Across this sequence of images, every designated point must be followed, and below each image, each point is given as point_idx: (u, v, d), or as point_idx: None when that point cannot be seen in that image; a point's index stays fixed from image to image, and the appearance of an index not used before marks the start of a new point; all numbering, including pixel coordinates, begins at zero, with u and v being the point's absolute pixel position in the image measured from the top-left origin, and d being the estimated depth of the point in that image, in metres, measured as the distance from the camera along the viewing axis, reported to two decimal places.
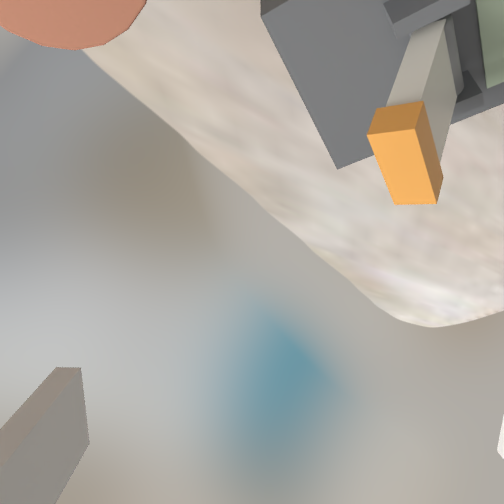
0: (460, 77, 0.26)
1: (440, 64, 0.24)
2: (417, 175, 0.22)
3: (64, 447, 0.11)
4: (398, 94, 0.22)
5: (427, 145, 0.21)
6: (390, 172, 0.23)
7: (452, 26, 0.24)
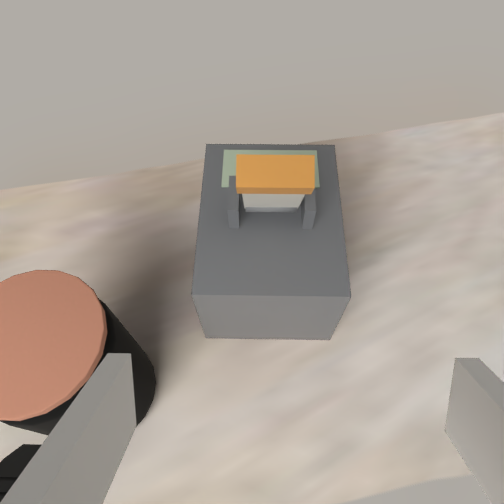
0: None
1: None
2: (280, 162, 0.29)
3: (119, 426, 0.12)
4: None
5: None
6: (275, 180, 0.29)
7: None
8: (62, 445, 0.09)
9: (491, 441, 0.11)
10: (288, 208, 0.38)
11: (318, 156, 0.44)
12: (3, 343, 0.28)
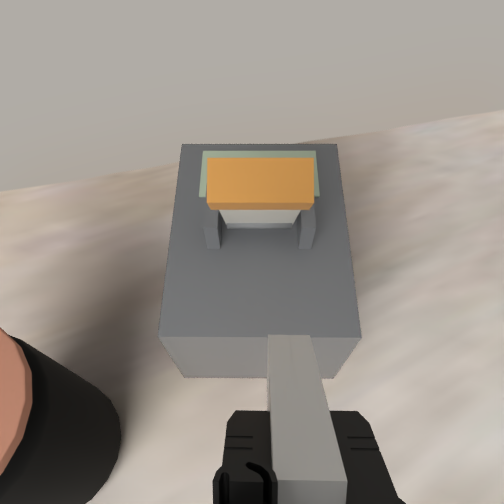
0: None
1: None
2: (267, 167, 0.22)
3: None
4: None
5: None
6: (260, 193, 0.22)
7: None
8: (289, 408, 0.11)
9: None
10: (281, 224, 0.30)
11: (317, 157, 0.36)
12: None
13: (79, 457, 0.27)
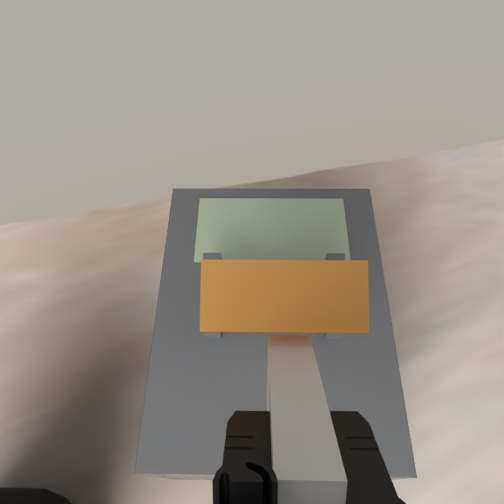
0: None
1: None
2: (296, 276, 0.14)
3: None
4: None
5: None
6: (284, 317, 0.14)
7: None
8: (289, 408, 0.11)
9: None
10: None
11: (345, 207, 0.29)
12: None
13: None
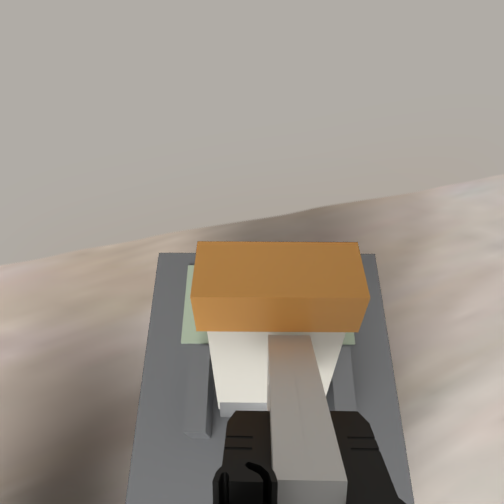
0: None
1: None
2: (289, 253, 0.14)
3: None
4: None
5: None
6: (279, 284, 0.13)
7: None
8: (289, 408, 0.11)
9: None
10: None
11: None
12: None
13: None
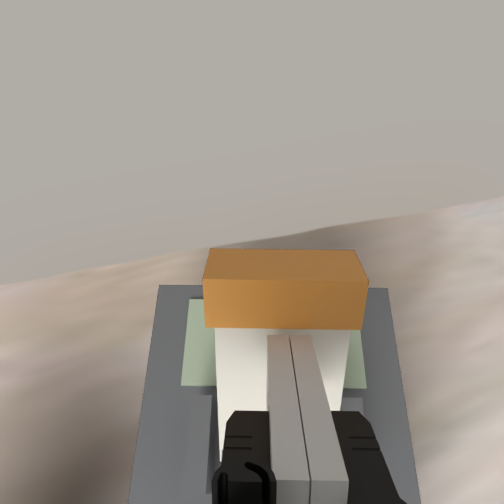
0: None
1: None
2: (293, 255, 0.16)
3: None
4: None
5: None
6: (285, 273, 0.14)
7: None
8: (288, 408, 0.11)
9: None
10: None
11: None
12: None
13: None
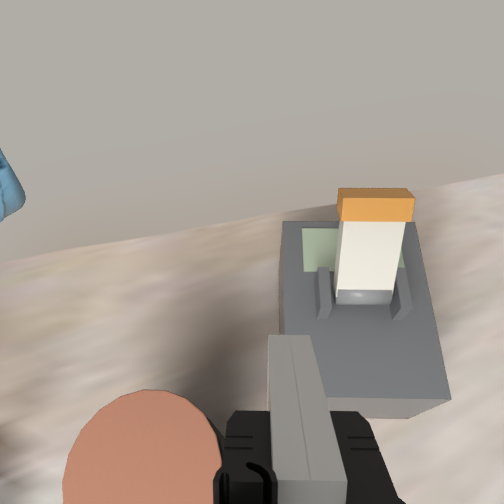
0: None
1: None
2: (378, 190, 0.34)
3: None
4: (341, 231, 0.35)
5: None
6: (377, 195, 0.33)
7: None
8: (289, 408, 0.11)
9: None
10: (382, 291, 0.37)
11: None
12: (120, 478, 0.27)
13: None
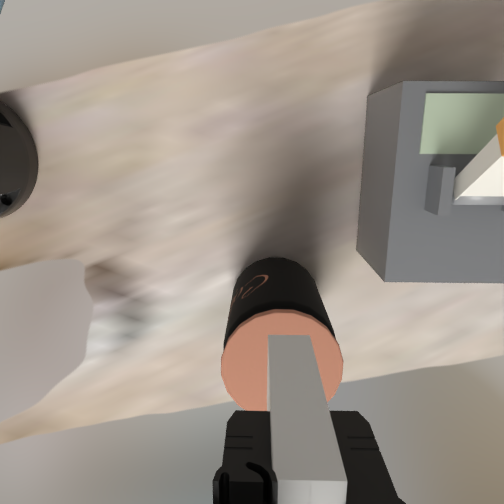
0: None
1: None
2: None
3: None
4: (493, 156, 0.29)
5: None
6: None
7: None
8: (289, 408, 0.11)
9: None
10: None
11: None
12: (265, 373, 0.36)
13: None
